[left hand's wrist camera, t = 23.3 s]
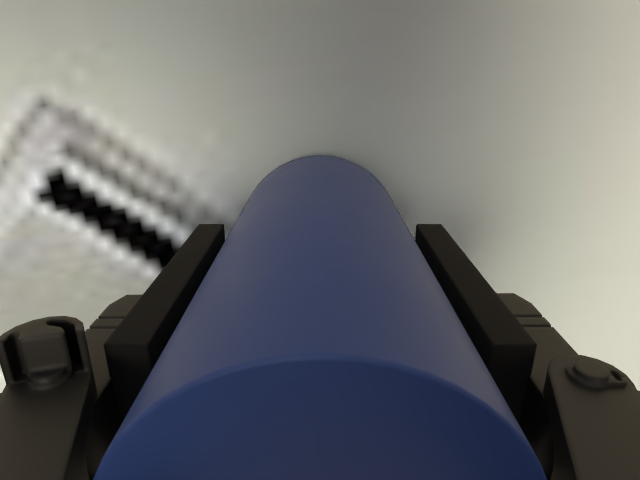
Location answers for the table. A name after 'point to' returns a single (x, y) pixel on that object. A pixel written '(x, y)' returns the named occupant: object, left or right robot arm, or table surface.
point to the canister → (320, 355)
